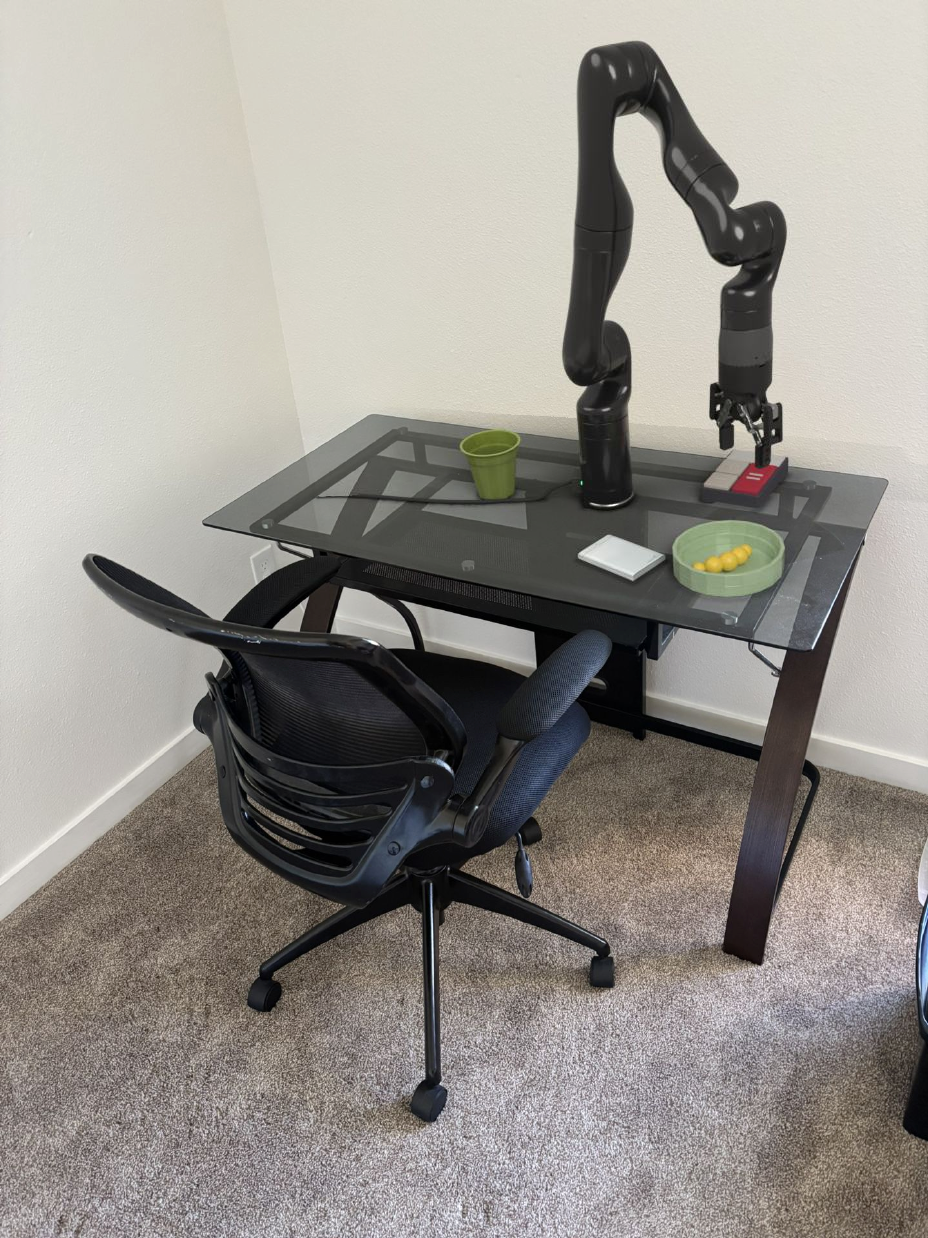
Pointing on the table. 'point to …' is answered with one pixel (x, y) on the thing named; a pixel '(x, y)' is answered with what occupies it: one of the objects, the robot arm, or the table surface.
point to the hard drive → (621, 557)
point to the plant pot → (492, 462)
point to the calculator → (744, 480)
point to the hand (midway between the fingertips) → (744, 457)
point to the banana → (725, 560)
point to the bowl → (723, 538)
